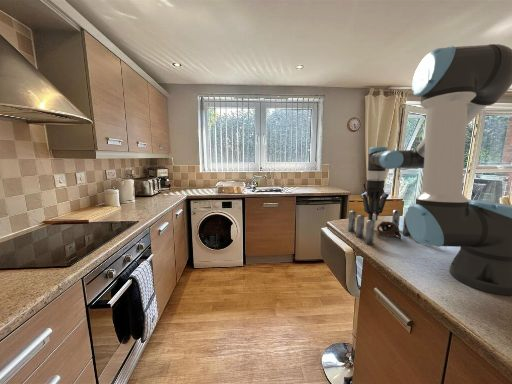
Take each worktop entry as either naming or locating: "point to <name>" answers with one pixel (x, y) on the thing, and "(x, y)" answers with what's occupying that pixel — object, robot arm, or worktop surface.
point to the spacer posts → (372, 226)
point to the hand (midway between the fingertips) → (372, 226)
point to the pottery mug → (388, 230)
